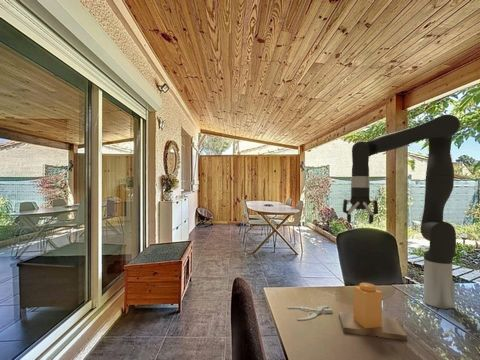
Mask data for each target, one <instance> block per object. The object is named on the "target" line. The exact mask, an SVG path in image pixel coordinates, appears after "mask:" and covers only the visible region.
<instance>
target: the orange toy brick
mask: <svg viewBox="0 0 480 360" xmlns="http://www.w3.org/2000/svg"><path fill="white" fill-rule="evenodd" d="M352 313H353V319H354V320H355V321H356V322H358V323H359V324H360V325H361V326H363V327H364V328H374V327H382V317H383V292H382V291H381V290H379V289H377V288H376V285H375V284H373V283H369V282H361V283H360V282H359V285H354V286H353V311H352Z"/></svg>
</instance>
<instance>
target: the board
mask: <svg viewBox="0 0 480 360" xmlns="http://www.w3.org/2000/svg"><path fill="white" fill-rule="evenodd" d="M338 317H339V321H340V324H341V328H342V331H343V333H346V334H347V333H348V334H355V335H361V336H370V337H376V336H378V337H377V338H386V339H393V340H400V341H408V334H407V333H406V332H405V330H404V329H403V328H402V326H401V325H400V324H399V323H398V321H397V319H396V318H395V317H387V316H382V327H374V328H364V327H363V326H361V325H360V324H359V323H358V322H356V321H355V320H354V319H353V312H345V311H338Z"/></svg>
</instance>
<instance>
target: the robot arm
mask: <svg viewBox="0 0 480 360" xmlns="http://www.w3.org/2000/svg"><path fill="white" fill-rule="evenodd" d="M460 126H461V121H460V120H459V118H458V117H457V116H455V115H453V114H441V115H438V116H437V117H435V118H433V119H431V120H428V121H426V122H423V123H420V124H418V125H415V126H412V127H408V128H405V129H402V130H398V131H395V132H391V133H386V134H384V135H380V136H377V137H375V138H374V139H370V140H367V141H363V140H359V141H357V142H355V143H354V144H353V145H352V147H351V160H352V161H351V162H352V164H351V165H352V167H351V180H350V199H343V203H342V212H343V213H345V214H346V220H347V222H348V223H350V224H351V223H352V214H351V213H353V211H354V210H363V211H364V210H365V211H367V213H368V224H370V225H371V224H373V223H374V216H375V215H378V213H379V205H378V200H377V199H373V200H371V199H370V191H371V190H370V184H371V182H370V167H369V161H370V157H371V156H373V155H376V154H380V153H385V152H389V151H393V150H396V149H400V148H402V147H404V146H405V147H406V146H408V145H410V144H411V145H412V144H414V143H416V142H420V141H424V140H428V154H427V155H428V157H427V162H426V169H425V170H426V171H425V187H424V189H425V190H424V207H423V213H422V217H421V224H420V232H421V236H422V237H423V239H425V240H427V241H429V248H428V250H426V251H424V252H423V302H424V303H425V304H426V305H428V306H431V307H433V308H438V309H441V310H442V309H444V310H450V309H455V307H456V299H455V298H456V283H454V282H453V259H454V257H455V256H456V248H457V247H456V246H457V232H456V229H455V227H454V226H453V225H452V224H451V223H449V222H447V221H444V209H445V207H446V204H447V202H448V200H449V198H450V196H451V194H452V192H453V190H454V182H455V170H454V164H453V160H452V155H451V147H452V140H453V136H455V135H456V133H457V132H458V131H459V129H460ZM349 204H351V206H350V207H349V209H347V206H348V205H349ZM370 204H371V205H372V206H373V210H372V209H371V208H370V207H369V206H370Z"/></svg>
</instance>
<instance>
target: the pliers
mask: <svg viewBox="0 0 480 360" xmlns="http://www.w3.org/2000/svg"><path fill="white" fill-rule="evenodd" d="M329 307H330V306H329V305H319V306H316V308H311V307H308V306H307V307H306V306H300V305H299V306H296V305H295V306H293V305H292V306H287V309H288V310H293V309H294V310H295V309H296V310H301V311H304V312H307V313H308V314H307V316H306V317H299V318H297V319H296V321H310V320H312V319H315V318H317V317H318V316H319V315H321V314H333V312H334V311H333V309H332V308H329ZM312 312H313V313H312Z"/></svg>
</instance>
